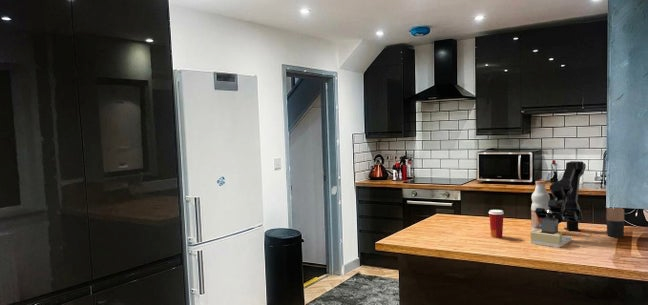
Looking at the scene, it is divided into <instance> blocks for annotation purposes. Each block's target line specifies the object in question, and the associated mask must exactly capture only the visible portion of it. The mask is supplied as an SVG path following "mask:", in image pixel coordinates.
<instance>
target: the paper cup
mask: <svg viewBox="0 0 648 305" xmlns="http://www.w3.org/2000/svg"><path fill="white" fill-rule="evenodd" d="M488 214H489V226H490V236H491V238H493V239H495V238H496V239H500V238H503V231H504V230H503V229H504V214H505V212H504V210H502V209H490V210H489V211H488Z"/></svg>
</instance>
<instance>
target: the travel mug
mask: <svg viewBox="0 0 648 305" xmlns="http://www.w3.org/2000/svg"><path fill="white" fill-rule="evenodd" d="M606 235H607V237H609V238H612V239H613V238H615V239H622V238H624V235H625V208H624V209H623V208H614V209H613V208H607V207H606Z"/></svg>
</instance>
